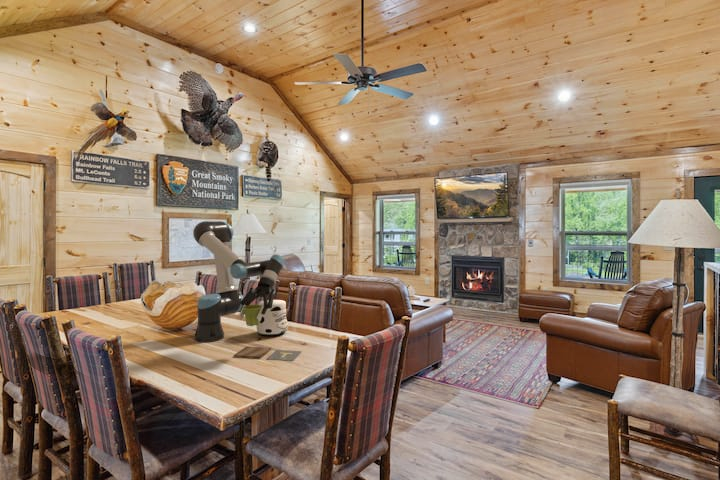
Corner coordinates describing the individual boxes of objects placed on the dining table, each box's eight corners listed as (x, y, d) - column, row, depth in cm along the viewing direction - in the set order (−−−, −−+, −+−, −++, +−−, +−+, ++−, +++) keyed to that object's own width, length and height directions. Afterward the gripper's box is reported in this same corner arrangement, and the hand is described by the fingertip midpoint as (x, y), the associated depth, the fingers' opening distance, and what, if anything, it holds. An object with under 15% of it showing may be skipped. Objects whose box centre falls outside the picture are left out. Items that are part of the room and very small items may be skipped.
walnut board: (233, 357, 178) (233, 355, 178) (246, 348, 191) (246, 346, 191) (260, 358, 176) (260, 356, 176) (271, 349, 189) (271, 347, 189)
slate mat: (266, 359, 176) (266, 358, 176) (276, 350, 189) (276, 349, 189) (293, 360, 174) (293, 360, 174) (302, 351, 187) (302, 351, 187)
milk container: (288, 336, 212) (288, 304, 211) (256, 338, 208) (256, 306, 207) (286, 328, 229) (286, 298, 228) (256, 330, 224) (256, 299, 224)
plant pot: (257, 327, 178) (257, 309, 177) (239, 326, 180) (239, 308, 179) (266, 322, 187) (266, 305, 187) (248, 321, 189) (248, 304, 189)
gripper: (289, 286, 194) (272, 325, 179) (252, 284, 201) (233, 320, 186) (283, 277, 188) (266, 316, 174) (246, 275, 196) (226, 312, 181)
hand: (249, 318), depth 180 cm, fingers closed on plant pot, 9 cm apart
